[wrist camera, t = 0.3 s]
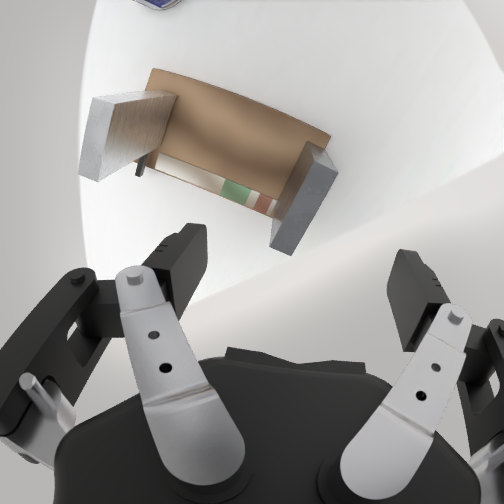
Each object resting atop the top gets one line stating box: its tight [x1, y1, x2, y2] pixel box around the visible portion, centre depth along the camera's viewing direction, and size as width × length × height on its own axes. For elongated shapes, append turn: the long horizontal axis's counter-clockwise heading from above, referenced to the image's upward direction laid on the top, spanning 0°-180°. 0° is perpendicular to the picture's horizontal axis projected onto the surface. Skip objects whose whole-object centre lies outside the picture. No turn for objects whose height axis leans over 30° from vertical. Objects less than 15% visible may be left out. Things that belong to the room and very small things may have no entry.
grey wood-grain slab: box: [269, 141, 338, 256], centre depth 26 cm, size 8×2×9 cm, turn 157°
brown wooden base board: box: [133, 68, 331, 218], centre depth 30 cm, size 11×20×2 cm, turn 67°
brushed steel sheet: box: [78, 90, 177, 182], centre depth 23 cm, size 9×2×12 cm, turn 157°
